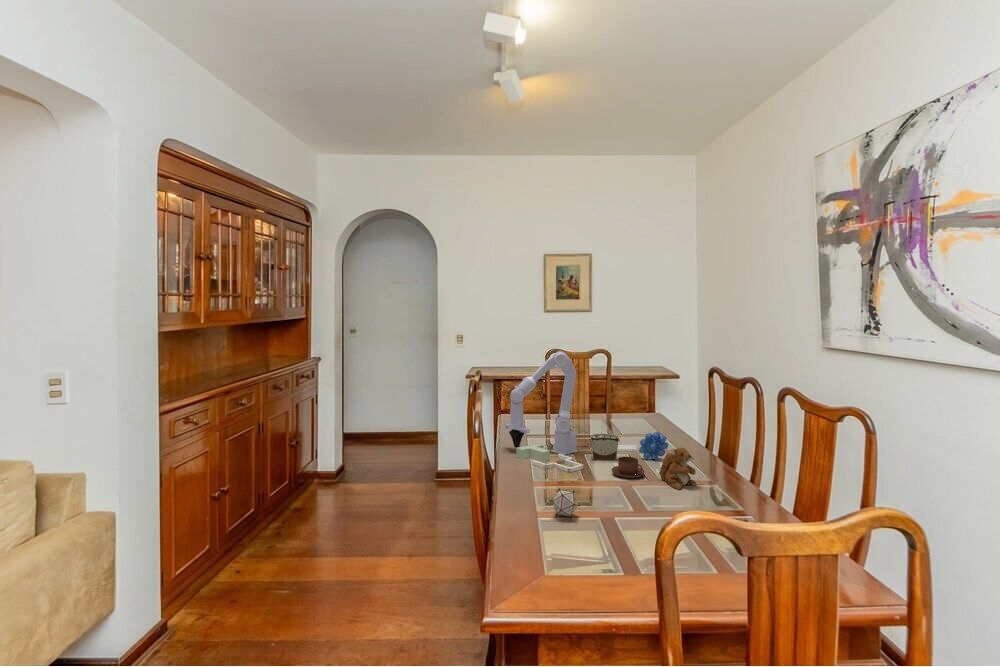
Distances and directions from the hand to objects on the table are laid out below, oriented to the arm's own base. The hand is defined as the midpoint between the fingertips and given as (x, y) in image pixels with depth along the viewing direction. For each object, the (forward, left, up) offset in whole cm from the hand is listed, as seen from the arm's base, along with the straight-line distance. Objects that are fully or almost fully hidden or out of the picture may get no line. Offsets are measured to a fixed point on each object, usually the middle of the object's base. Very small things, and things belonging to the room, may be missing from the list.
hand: (516, 447), depth 226 cm
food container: (-21, +32, -2) cm, 38 cm away
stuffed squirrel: (-17, +68, -2) cm, 70 cm away
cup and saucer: (-11, +51, -2) cm, 53 cm away
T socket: (0, +27, -2) cm, 27 cm away
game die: (+36, +64, -2) cm, 73 cm away
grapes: (-36, +46, -2) cm, 58 cm away
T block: (0, +13, -2) cm, 13 cm away
